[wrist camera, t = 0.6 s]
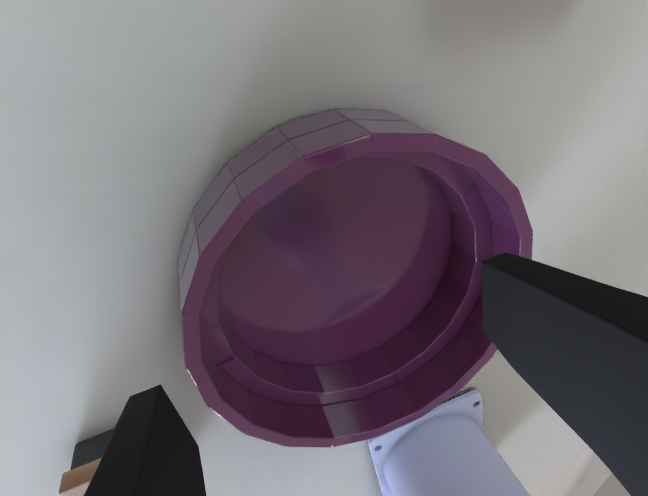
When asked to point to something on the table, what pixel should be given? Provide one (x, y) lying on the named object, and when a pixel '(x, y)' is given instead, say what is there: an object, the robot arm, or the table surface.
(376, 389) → the bowl
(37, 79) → the table surface
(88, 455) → the rubber stamp
